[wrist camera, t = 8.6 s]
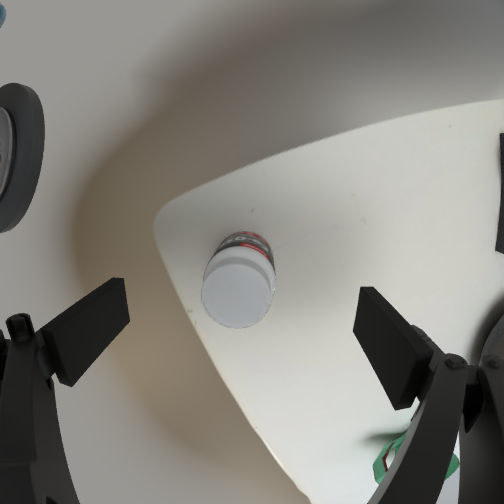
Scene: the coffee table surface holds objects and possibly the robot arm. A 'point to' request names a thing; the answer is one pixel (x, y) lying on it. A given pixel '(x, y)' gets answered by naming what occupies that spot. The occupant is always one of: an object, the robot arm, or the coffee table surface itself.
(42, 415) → the robot arm
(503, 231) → the scale
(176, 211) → the coffee table surface
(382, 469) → the mug
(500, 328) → the bowl
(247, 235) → the pill bottle
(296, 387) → the coffee table surface
